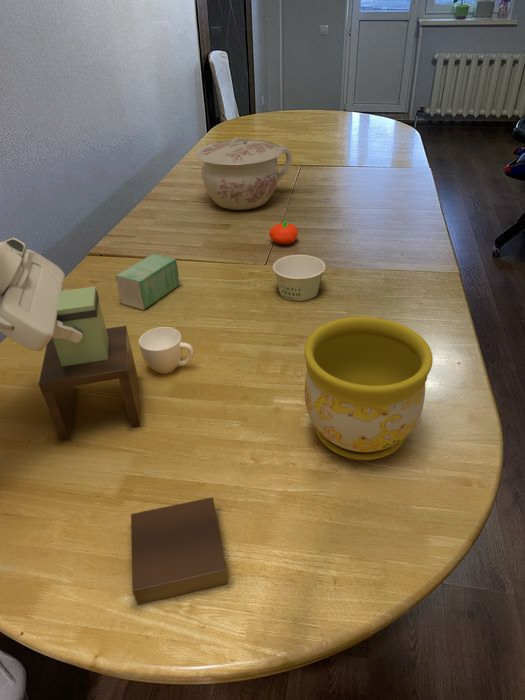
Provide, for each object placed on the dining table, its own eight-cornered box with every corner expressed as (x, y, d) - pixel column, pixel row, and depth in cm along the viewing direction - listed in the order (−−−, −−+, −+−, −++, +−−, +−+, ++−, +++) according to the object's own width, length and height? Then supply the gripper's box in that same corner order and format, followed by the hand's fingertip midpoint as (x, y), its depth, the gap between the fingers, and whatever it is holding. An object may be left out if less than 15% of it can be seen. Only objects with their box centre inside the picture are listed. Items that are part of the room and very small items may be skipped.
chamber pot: (186, 214, 164) (178, 147, 152) (219, 187, 185) (214, 125, 173) (270, 222, 157) (268, 151, 145) (294, 192, 178) (294, 128, 166)
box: (181, 285, 126) (176, 256, 122) (145, 311, 117) (139, 281, 112) (157, 279, 129) (152, 251, 125) (120, 304, 120) (113, 275, 116)
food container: (267, 300, 119) (266, 274, 115) (281, 276, 128) (280, 252, 124) (318, 306, 115) (319, 280, 112) (329, 281, 125) (330, 257, 121)
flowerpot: (438, 430, 83) (457, 347, 73) (371, 495, 73) (383, 409, 63) (349, 381, 94) (355, 303, 84) (280, 433, 84) (278, 351, 74)
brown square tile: (228, 583, 63) (226, 569, 61) (137, 605, 61) (132, 591, 60) (215, 510, 72) (213, 496, 70) (134, 527, 70) (130, 513, 68)
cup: (153, 353, 103) (147, 325, 99) (201, 357, 101) (197, 329, 97) (138, 378, 97) (132, 348, 93) (189, 382, 95) (185, 352, 91)
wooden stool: (140, 426, 86) (126, 369, 79) (59, 441, 84) (38, 384, 77) (138, 379, 97) (126, 325, 90) (66, 391, 94) (48, 337, 87)
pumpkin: (269, 237, 147) (269, 216, 144) (297, 237, 147) (297, 215, 143) (269, 248, 142) (268, 226, 138) (298, 247, 141) (298, 225, 137)
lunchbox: (108, 360, 81) (94, 305, 76) (61, 367, 80) (43, 312, 74) (109, 338, 86) (96, 285, 81) (64, 345, 85) (48, 292, 79)
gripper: (-9, 296, 64) (90, 348, 71) (17, 233, 80) (96, 280, 87) (-34, 331, 66) (65, 378, 73) (-4, 263, 82) (75, 306, 89)
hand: (82, 324), depth 80 cm, fingers closed on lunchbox, 6 cm apart
